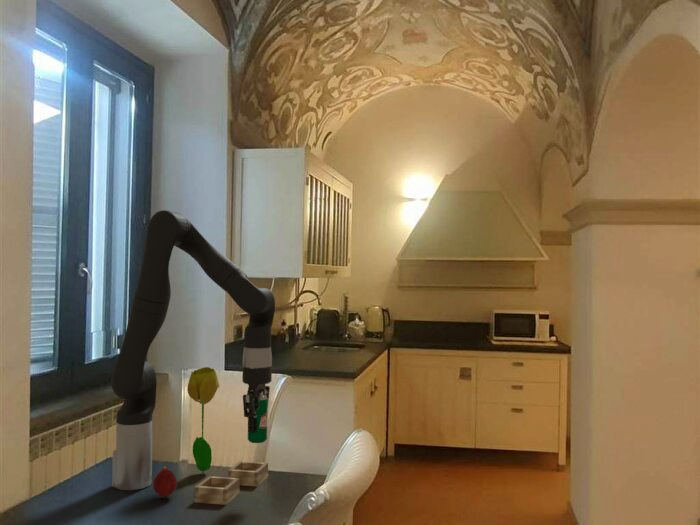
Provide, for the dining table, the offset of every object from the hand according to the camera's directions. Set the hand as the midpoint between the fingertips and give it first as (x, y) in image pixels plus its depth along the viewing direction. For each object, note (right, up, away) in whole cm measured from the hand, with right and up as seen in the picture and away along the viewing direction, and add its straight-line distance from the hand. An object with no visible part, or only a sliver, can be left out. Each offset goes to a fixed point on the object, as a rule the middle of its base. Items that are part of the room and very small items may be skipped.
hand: (256, 429), depth 159 cm
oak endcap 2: (-4, -17, +11) cm, 20 cm away
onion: (-23, -17, -3) cm, 29 cm away
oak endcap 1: (-9, -17, -2) cm, 19 cm away
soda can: (0, -3, 0) cm, 3 cm away
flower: (-18, -17, +17) cm, 30 cm away
